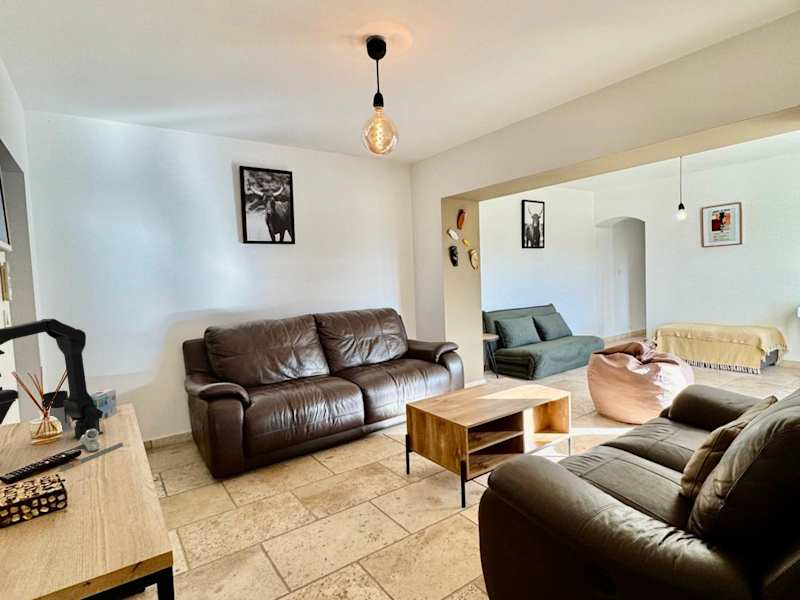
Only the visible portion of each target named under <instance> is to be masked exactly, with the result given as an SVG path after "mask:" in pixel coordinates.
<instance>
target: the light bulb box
mask: <svg viewBox="0 0 800 600" xmlns="http://www.w3.org/2000/svg"><path fill="white" fill-rule="evenodd" d="M116 391H117V389H116V388H113V389H112V388H110V389H108V388H107V389H106V388H105V389H103V388H102V389H98V390H96V391H93V392H90V393H88V394H89V395H90V396H91V397H92V399H93V402H94V405H95V407H96V408H97V409H99V410H101V411H102V412H103V415H102V418H100V419H99V422H101V421H100V420H102V419H104V420H106V419H108V418H110V417H109V416H111V417H112V415H113V416H114V414H115V415H117V414H118V408H117V407H118V406H117V394H116V393H117V392H116ZM116 413H117V414H116ZM107 417H108V418H107ZM105 418H106V419H105ZM102 421H103V420H102Z"/></svg>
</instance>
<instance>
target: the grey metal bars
mask: <svg viewBox="0 0 800 600" xmlns="http://www.w3.org/2000/svg"><path fill="white" fill-rule="evenodd" d="M123 446H124V443H123V442H119V443H117V444H114V445H112V446H109V447H107V448H104V449H101V450H100V451H97V452H95V453H92V454H91V455H88V456H85V457H83V458H81V459H75V460H72V461H69V464H67V465H65V466H62V467H59V472H65V471H67V470H70V469H72V468H76V467H77V466H80V465H82V464H83V463H87V462H89V461H91V460H93V459H96V458H99V457H100V456H102V455H105V454H108V453H110V452H113V451H115V450H117V449H119V448H122V447H123ZM85 448H86V446H83V445H82V444H80V445H77V446H76V447H73V448H70V449H67V450H65V451H63V452H69V451H72V450H76V449H80V450H82V449H85ZM63 452H61V453H63ZM58 454H59V453H57V454H55V455H52V456H51V455H47V456H45V457H43V458H41V460H39V461H36V462H35V463H32V464H31V465H33V464H36V463H39V462H41V461H44V460H47V459H49V458H51V457H53V456H56V455H58Z"/></svg>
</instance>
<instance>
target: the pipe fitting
mask: <svg viewBox="0 0 800 600" xmlns="http://www.w3.org/2000/svg"><path fill="white" fill-rule="evenodd" d="M98 434H99V432H98V431H97V430H96V429H91V430H88V431H86V433H85V435H82V436H81V439H79V443H80V445H83V446H86V447H85V448H86V449H87V450H88V452H95V451H97V450H98V449H100V446H101V445H100V442H99V441H98V440H97V439H98V437H99V435H100V434H99V435H98ZM88 436H89V437H90V438H88Z"/></svg>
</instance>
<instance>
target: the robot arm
mask: <svg viewBox="0 0 800 600" xmlns="http://www.w3.org/2000/svg"><path fill="white" fill-rule="evenodd" d="M41 333H46V335H48V336H49V337H50V338H52V339H54V340H55V341H56V344H57V347H58V349H59V350H60V352H61V353H62V354H63V356H64V363H65V371H66V377H67V383H68V384H67V385H68V391H69V394H68V399H67V400H64V401H63V405H64V412H66V414H67V415H68V416H70V420H71V422H72V421H73V422H75V426H74V435H75V436H73V439H78V440H80V439H81V436H82V435H85V433H86V431H88V430H91V429H96V430H97V431H98V432H99V434H98V436H99V435H101V434H104V431H102V430H101V428H100V426H101V425H100V421H99V419H100V418H102V415H103V412H102V411H101V410H99V409H97V408H96V407H95V405H94V402H93V399H92V397H91V396H90V395H89V394H90V393H89V392H88V390H87V382H86V381H87V380H86V374H85V367H84V360H83V352H84V349H85V347H86V343H87V342H86V341H87V340H86V339H87V335H86V332H85V331H83V330H82V329H79V328H78V329H77V328H75V327H73V326H71V325H68V324H66V323H64V322H63V323H62V322H61V321H59V320H58V319H55V318H43V319H41V320H36V321H31V322H27V323H22V324H18V325H17V324H16V325H12V326H8V327H7V326H6V327H3V328H0V346H1V345H3V344H5V343H7V342H9V341H12V340H16V339H19V338H24V337H29V336H33V335H37V334H41ZM4 354H5V351H3V350H2V349H0V355H1V356H2V355H4ZM0 378H2V373H0ZM19 397H20V395H19V391H17V390H15V389H3V386H0V425H2V423H3V422H4V420H5V418H6V416H7V414H8V412H9V410H10V409H11V407H12V405H13V404H14V402H16V401H17V400H18V399H20V398H19ZM88 438H90V437H89V436H88ZM90 439H91V438H90Z"/></svg>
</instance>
